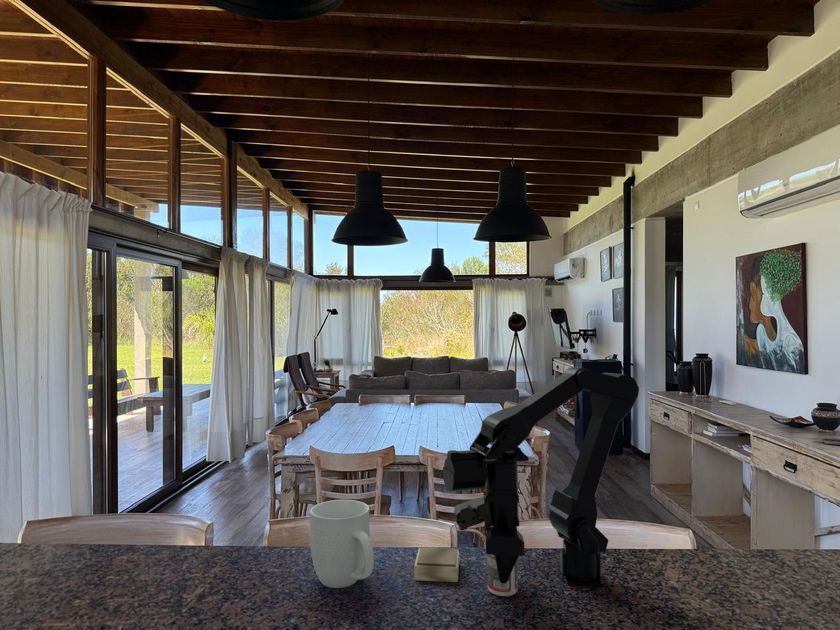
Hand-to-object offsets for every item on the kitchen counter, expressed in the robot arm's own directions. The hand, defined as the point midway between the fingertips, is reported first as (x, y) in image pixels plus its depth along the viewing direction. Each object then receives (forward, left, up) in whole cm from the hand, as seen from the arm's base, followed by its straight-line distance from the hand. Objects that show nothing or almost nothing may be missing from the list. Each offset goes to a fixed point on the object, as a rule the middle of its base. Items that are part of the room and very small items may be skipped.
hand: (502, 575), depth 91 cm
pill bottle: (0, 0, -3) cm, 3 cm away
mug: (+29, 0, -3) cm, 29 cm away
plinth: (+12, -6, -2) cm, 14 cm away
